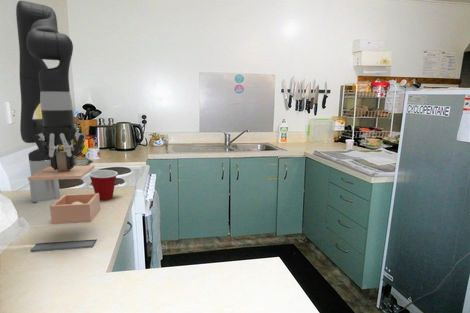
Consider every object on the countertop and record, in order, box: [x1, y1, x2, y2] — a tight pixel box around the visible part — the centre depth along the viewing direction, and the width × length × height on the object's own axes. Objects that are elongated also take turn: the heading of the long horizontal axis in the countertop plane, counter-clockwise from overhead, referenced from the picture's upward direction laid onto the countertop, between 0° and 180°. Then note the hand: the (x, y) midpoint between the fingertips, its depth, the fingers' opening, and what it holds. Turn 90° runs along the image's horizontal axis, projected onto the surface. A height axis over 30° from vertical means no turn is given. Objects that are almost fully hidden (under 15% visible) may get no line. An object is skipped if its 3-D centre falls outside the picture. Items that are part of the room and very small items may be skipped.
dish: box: [49, 192, 101, 225], centre depth 105 cm, size 12×12×7 cm
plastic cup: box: [88, 169, 118, 202], centre depth 123 cm, size 11×11×12 cm
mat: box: [30, 239, 98, 253], centre depth 90 cm, size 16×14×1 cm
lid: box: [27, 150, 95, 182], centre depth 86 cm, size 13×13×6 cm
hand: (63, 168), depth 86 cm, fingers closed on lid, 3 cm apart
